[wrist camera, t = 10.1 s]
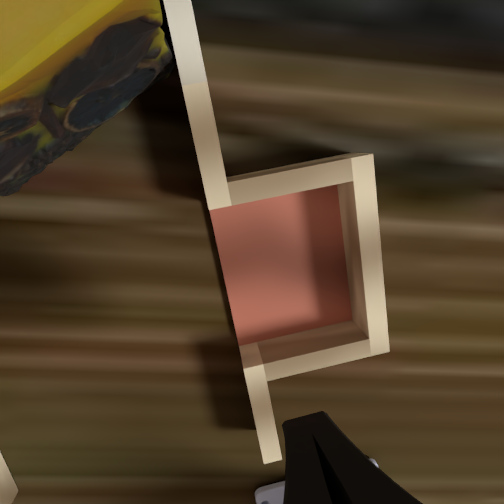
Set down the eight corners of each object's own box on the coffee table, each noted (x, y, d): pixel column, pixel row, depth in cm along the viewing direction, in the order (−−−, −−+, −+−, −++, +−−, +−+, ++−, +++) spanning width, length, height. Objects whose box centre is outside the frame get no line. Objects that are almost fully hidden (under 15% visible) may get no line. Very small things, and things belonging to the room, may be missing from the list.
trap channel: (375, 400, 23) (396, 429, 21) (-120, 525, 21) (-161, 574, 19) (311, -244, 14) (333, -320, 12) (-546, -148, 12) (-727, -220, 10)
